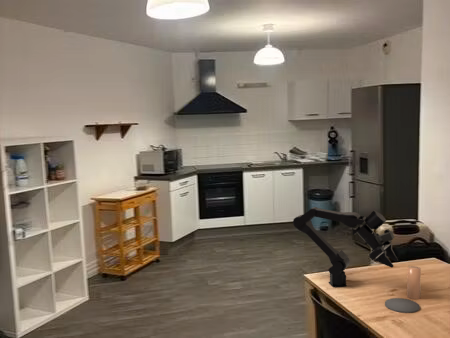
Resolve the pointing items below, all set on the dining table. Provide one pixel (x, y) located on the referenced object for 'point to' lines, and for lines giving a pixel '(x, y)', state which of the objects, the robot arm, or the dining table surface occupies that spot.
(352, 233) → the robot arm
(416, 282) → the tan rounded cylinder
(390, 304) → the mat
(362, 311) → the dining table surface
